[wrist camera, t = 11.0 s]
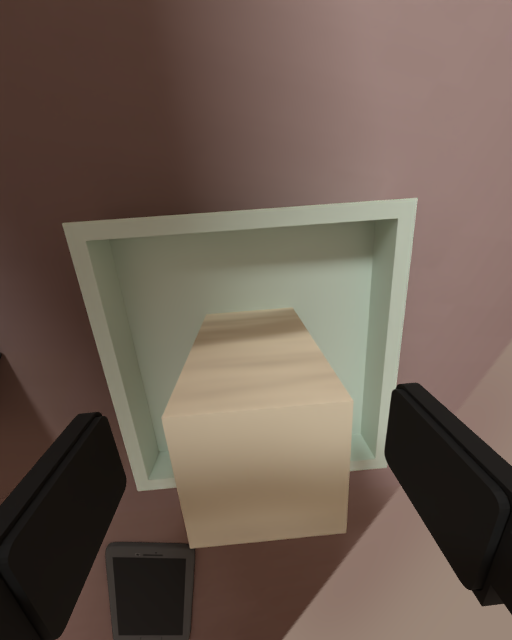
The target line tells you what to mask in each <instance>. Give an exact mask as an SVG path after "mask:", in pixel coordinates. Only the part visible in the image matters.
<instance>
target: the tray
mask: <svg viewBox="0 0 512 640" xmlns="http://www.w3.org/2000/svg"><path fill="white" fill-rule="evenodd" d="M417 200H418V198H407V199H393V200H379V201H365V202H351V203H337V204H323V205H308V206H294V207H280V208H266V209H252V210H238V211H223V212H209V213H195V214H181V215H167V216H153V217H139V218H124V219H110V220H96V221H82V222H68V223H62V226H63V229H64V233H65V236H66V240H67V243H68V247H69V250H70V254H71V257H72V261H73V264H74V268H75V272H76V275H77V279H78V282H79V286H80V289H81V293H82V296H83V300H84V303H85V307H86V310H87V314H88V317H89V321H90V324H91V328H92V332H93V335H94V339H95V342H96V346H97V349H98V353H99V356H100V360H101V363H102V367H103V370H104V374H105V377H106V381H107V384H108V388H109V392H110V395H111V399H112V402H113V406H114V409H115V413H116V416H117V420H118V423H119V427H120V430H121V434H122V437H123V441H124V444H125V448H126V452H127V455H128V459H129V462H130V466H131V469H132V473H133V476H134V480H135V483H136V487H137V490H138V491H146V490H156V489H167V488H177V487H176V482H175V478H174V473H173V469H172V464H171V460H170V455H169V451H168V446H167V442H166V437H165V433H164V428H163V424H162V419H161V418H162V415H163V413H164V411H165V408H166V406H167V404H168V401H169V399H170V397H171V394H172V392H173V390H174V388H175V385H176V383H177V381H178V378H179V376H180V374H181V371H182V369H183V367H184V364H185V362H186V360H187V358H188V355H189V353H190V351H191V348H192V346H193V344H194V341H195V339H196V337H197V335H198V332H199V330H200V328H201V325H202V323H203V321H204V318H205V316H206V314H215V313H228V312H240V311H252V310H265V309H277V308H290V307H293V309H294V310H295V312H296V313H297V315H298V316H299V318H300V319H301V321H302V323H303V324H304V326H305V327H306V329H307V330H308V332H309V333H310V335H311V336H312V338H313V339H314V341H315V342H316V344H317V346H318V347H319V349H320V350H321V352H322V353H323V355H324V356H325V358H326V359H327V361H328V362H329V364H330V366H331V367H332V369H333V370H334V372H335V373H336V375H337V376H338V378H339V379H340V381H341V382H342V384H343V385H344V387H345V389H346V390H347V392H348V393H349V395H350V396H351V398H352V399H353V401H354V402H353V420H352V438H351V456H350V471H358V470H368V469H379V468H387V461H386V459H385V455H384V449H385V441H386V433H387V425H388V417H389V409H390V401H391V393H392V391H393V390H394V389H396V384H397V375H398V366H399V357H400V349H401V340H402V331H403V323H404V314H405V305H406V296H407V288H408V279H409V270H410V261H411V253H412V244H413V235H414V226H415V218H416V209H417Z"/></svg>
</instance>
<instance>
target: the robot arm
mask: <svg viewBox="0 0 512 640" xmlns="http://www.w3.org/2000/svg"><path fill="white" fill-rule="evenodd" d="M384 455H385V459H386V461H387V463H388V465H389V467H390V468H391V470H392V472H393V473H394V475H395V476H396V478H397V480H398V481H399V483H400V484H401V486H402V488H403V489H404V491H405V493H406V494H407V496H408V497H409V499H410V501H411V502H412V504H413V506H414V507H415V509H416V510H417V512H418V514H419V515H420V517H421V518H422V520H423V522H424V523H425V525H426V527H427V528H428V530H429V531H430V533H431V535H432V536H433V538H434V539H435V541H436V543H437V544H438V546H439V548H440V549H441V551H442V553H443V554H444V556H445V557H446V559H447V560H448V562H449V564H450V565H451V567H452V568H453V570H454V572H455V573H456V575H457V577H458V578H459V580H460V581H461V583H462V584H463V585H464V586H465V588H467V589H468V590H472V591H473V593H474V594H475V596H476V598H477V599H478V601H479V602H480V604H481V605H482V606H489V605H497V604H505V606H506V607H507V609H508V610H509V611H510V613H511V614H512V466H511V465H510V464H508V463H507V462H506V461H505V460H504V459H503V458H501V456H500V455H498V454H497V453H496V452H495V451H494V450H493V449H492V448H491V447H490V446H488V445H487V444H486V443H485V442H484V441H483V440H482V439H481V438H479V437H478V436H477V435H476V434H475V433H474V432H473V431H472V430H470V429H469V428H468V427H467V426H466V425H465V424H464V423H463V422H461V421H460V420H459V419H458V418H457V417H456V416H455V415H454V414H453V413H451V412H450V411H449V410H448V409H447V408H446V407H445V406H444V405H442V404H441V403H440V402H439V401H438V400H437V399H436V398H435V397H433V396H432V395H431V394H430V393H429V392H428V391H427V390H426V389H424V388H423V387H422V386H421V385H420V384H418V383H406V384H399V385H397V387H396V389H394V390H393V391H392V393H391V401H390V409H389V417H388V425H387V433H386V441H385V449H384ZM125 487H126V475H125V472H124V469H123V466H122V463H121V460H120V456H119V453H118V450H117V447H116V444H115V441H114V438H113V434H112V431H111V428H110V425H109V422H108V419H107V417H105V416H102V414H101V413H100V412H93V413H83V414H78V415H77V416H76V417H75V418H74V419H73V420H72V422H71V423H70V424H69V425H68V426H67V427H66V429H65V430H64V431H63V432H62V433H61V435H60V436H59V437H58V438H57V439H56V440H55V442H54V443H53V444H52V445H51V446H50V448H49V449H48V450H47V451H46V452H45V453H44V455H43V456H42V457H41V458H40V459H39V460H38V462H37V463H36V464H35V465H34V466H33V468H32V469H31V470H30V471H29V472H28V473H27V475H26V476H25V477H24V478H23V479H22V481H21V482H20V483H19V484H18V485H17V486H16V488H15V489H14V490H13V491H12V492H11V494H10V495H9V496H8V497H7V498H6V499H5V501H4V502H3V503H2V504H1V505H0V640H55V639H58V638H59V637H60V636H61V634H62V633H63V631H64V629H65V627H66V625H67V623H68V621H69V618H70V616H71V614H72V611H73V609H74V607H75V604H76V602H77V600H78V597H79V595H80V593H81V590H82V588H83V586H84V584H85V581H86V579H87V577H88V574H89V572H90V570H91V567H92V565H93V563H94V560H95V558H96V556H97V553H98V551H99V549H100V546H101V544H102V542H103V539H104V537H105V535H106V532H107V530H108V528H109V525H110V523H111V521H112V518H113V516H114V514H115V511H116V509H117V507H118V504H119V502H120V500H121V498H122V495H123V493H124V490H125Z"/></svg>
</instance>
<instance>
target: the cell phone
mask: <svg viewBox="0 0 512 640" xmlns="http://www.w3.org/2000/svg"><path fill="white" fill-rule="evenodd" d="M105 555H106V569H107V580H108V590H109V601H110V611H111V621H112V632H113V639H114V640H189V636H190V631H191V615H192V598H193V582H194V566H195V549H194V548H193V549H190V546H189V544H183V543H142V542H113V543H110V544H109V545H108V546H107V549H106V554H105Z"/></svg>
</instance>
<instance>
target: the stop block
mask: <svg viewBox="0 0 512 640" xmlns="http://www.w3.org/2000/svg"><path fill="white" fill-rule="evenodd" d="M353 402H354V401H353V399H352V398H351V396H350V395H349V393H348V392H347V390H346V389H345V387H344V385H343V384H342V382H341V381H340V379H339V378H338V376H337V375H336V373H335V372H334V370H333V369H332V367H331V366H330V364H329V362H328V361H327V359H326V358H325V356H324V355H323V353H322V352H321V350H320V349H319V347H318V346H317V344H316V342H315V341H314V339H313V338H312V336H311V335H310V333H309V332H308V330H307V329H306V327H305V326H304V324H303V323H302V321H301V319H300V318H299V316H298V315H297V313H296V312H295V310H294V309H293V307H290V308H277V309H265V310H252V311H240V312H228V313H215V314H206V316H205V318H204V321H203V323H202V325H201V328H200V330H199V332H198V335H197V337H196V339H195V341H194V344H193V346H192V348H191V351H190V353H189V355H188V358H187V360H186V362H185V364H184V367H183V369H182V371H181V374H180V376H179V378H178V381H177V383H176V385H175V388H174V390H173V392H172V394H171V397H170V399H169V401H168V404H167V406H166V408H165V411H164V413H163V415H162V418H161V419H162V424H163V428H164V433H165V437H166V442H167V446H168V451H169V455H170V460H171V464H172V469H173V473H174V478H175V482H176V487H177V491H178V496H179V500H180V505H181V510H182V514H183V519H184V523H185V528H186V532H187V537H188V541H189V546H190V549H193V548H203V547H213V546H223V545H233V544H242V543H252V542H262V541H272V540H282V539H292V538H302V537H312V536H322V535H332V534H342V533H346V529H347V511H348V493H349V475H350V456H351V438H352V420H353Z"/></svg>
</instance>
